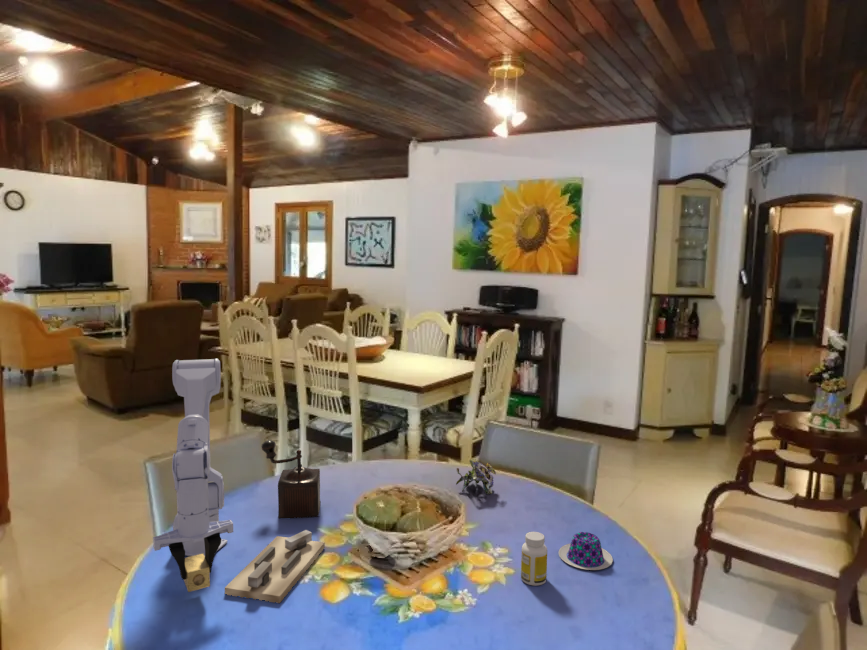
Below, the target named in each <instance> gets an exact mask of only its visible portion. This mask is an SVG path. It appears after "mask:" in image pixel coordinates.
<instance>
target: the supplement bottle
mask: <svg viewBox="0 0 867 650" xmlns="http://www.w3.org/2000/svg"><path fill="white" fill-rule="evenodd" d="M524 540H525V542H524V543H523V544H522V546H521V559H520V560H521V561H520V563H521V564H520V579H521V580H522V582H523V583H525V584H526V585H529V586H536V587H537V586H542V585H544V584H545V583H546V582H547V575H548V574H547V572H548V547H547V546H546V544H545V542H546V540H545V535H544V534H543V533H542V532H538V531H530V532H527V533H526V534H525V538H524Z"/></svg>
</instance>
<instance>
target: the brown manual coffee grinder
mask: <svg viewBox="0 0 867 650" xmlns="http://www.w3.org/2000/svg"><path fill="white" fill-rule="evenodd" d="M276 446H277V444H276V442H275V441H274V440H271V439H268V440H265V441H264V442H263V443H262V444H261V450H262V451H263V452H264V453H265V454H266V456H265V458H266V459H269V461H270V462H271V463H272V464H284V463H289V462H293V461H295V460H297V466H296V467H294V468H292V469H291V468H290V469H282V471H281V473H280V475H279V478H278V481H277V482H278V484H277V501H278V506H277V507H278V511H277V513H278V519H280V518H290V519H307V518H318V517H319V515H320V508H321V503H322V502H321V469H320V468H309V467H304V466H303V465H302V460H301V459H302V457H303V456H302V450H301V449H297V450H296V456H294V457H290V458H284V459H283V458H282V459H275V457H276V456H277V453H276V452H275V449H276Z"/></svg>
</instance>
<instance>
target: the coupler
mask: <svg viewBox="0 0 867 650" xmlns="http://www.w3.org/2000/svg"><path fill="white" fill-rule="evenodd" d="M185 570H186V579H184V580H183V581H184V585H185V587H186V590H187V593H191V592H195V591H198V590H202V589H205V588H208V587H210V586H211V578H210V577H211V576H210V574H211V572H209V565H208V563H207V561H206V559H205V556H204V554H199V555H195V556H187V557H186V556H185Z"/></svg>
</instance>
